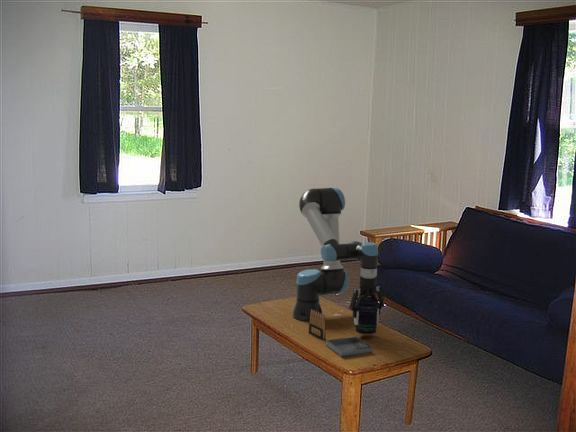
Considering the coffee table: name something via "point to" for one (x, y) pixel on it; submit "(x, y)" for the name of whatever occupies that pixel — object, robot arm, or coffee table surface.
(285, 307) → the coffee table surface
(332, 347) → the cradle tray
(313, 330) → the ammunition clip
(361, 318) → the storage jar
